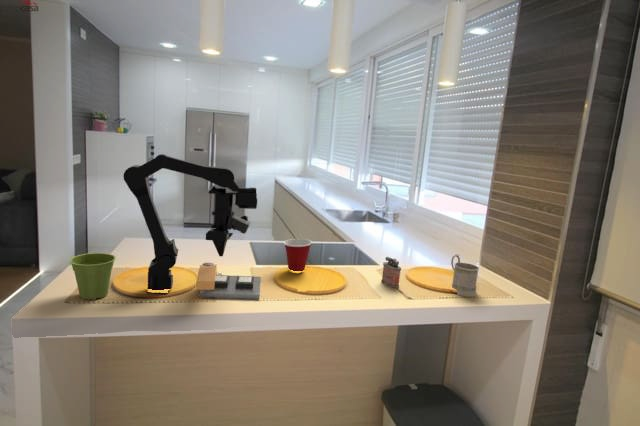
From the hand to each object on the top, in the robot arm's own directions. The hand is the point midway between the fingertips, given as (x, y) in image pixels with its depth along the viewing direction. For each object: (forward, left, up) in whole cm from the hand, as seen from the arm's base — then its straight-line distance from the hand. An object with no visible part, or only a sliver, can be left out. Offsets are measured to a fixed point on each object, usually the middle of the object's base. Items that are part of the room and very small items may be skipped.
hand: (221, 256), depth 133 cm
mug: (+86, +8, -11) cm, 87 cm away
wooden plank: (-3, -6, -6) cm, 9 cm away
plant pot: (-35, -9, -11) cm, 38 cm away
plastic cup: (+26, +21, -11) cm, 35 cm away
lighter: (+60, +10, -11) cm, 62 cm away
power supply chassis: (+4, +1, -11) cm, 12 cm away
